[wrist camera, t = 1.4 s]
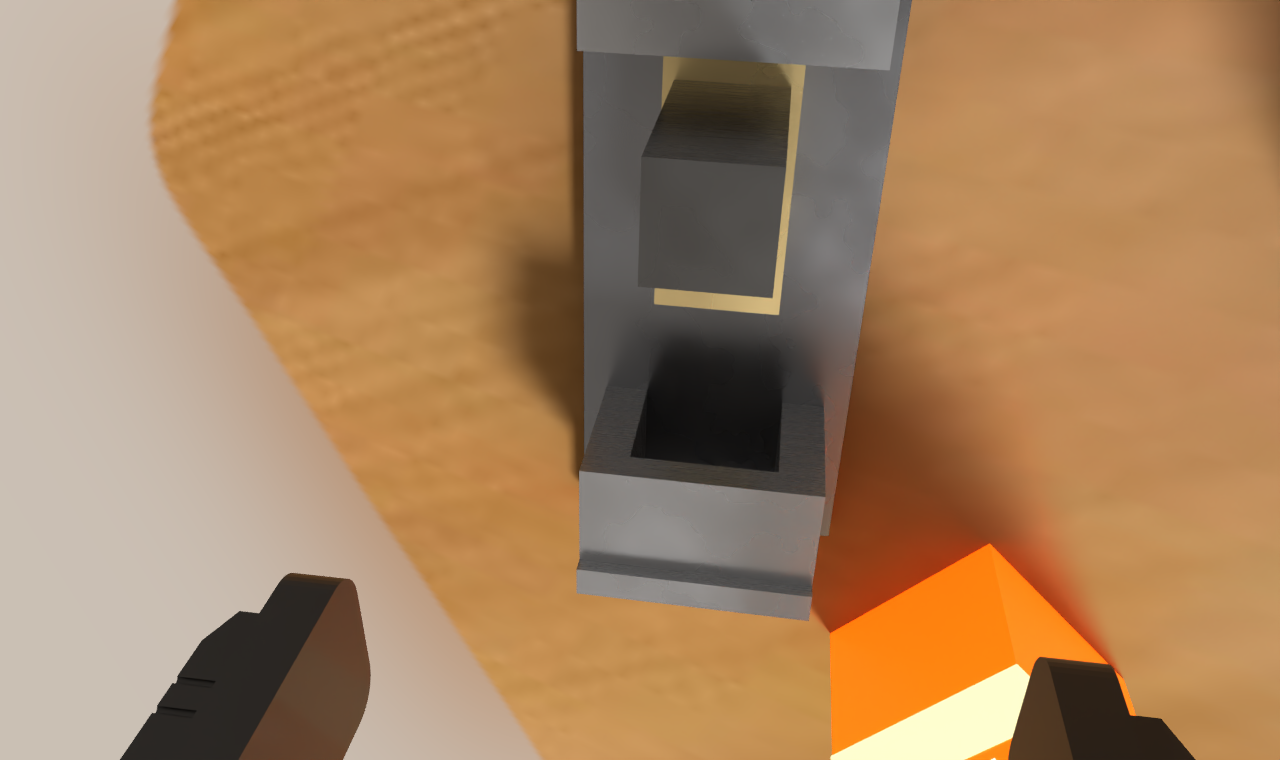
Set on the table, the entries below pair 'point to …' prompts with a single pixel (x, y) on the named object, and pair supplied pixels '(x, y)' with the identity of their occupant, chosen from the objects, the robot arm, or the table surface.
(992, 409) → the table surface
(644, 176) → the block
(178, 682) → the robot arm
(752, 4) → the rail
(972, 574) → the orange juice
